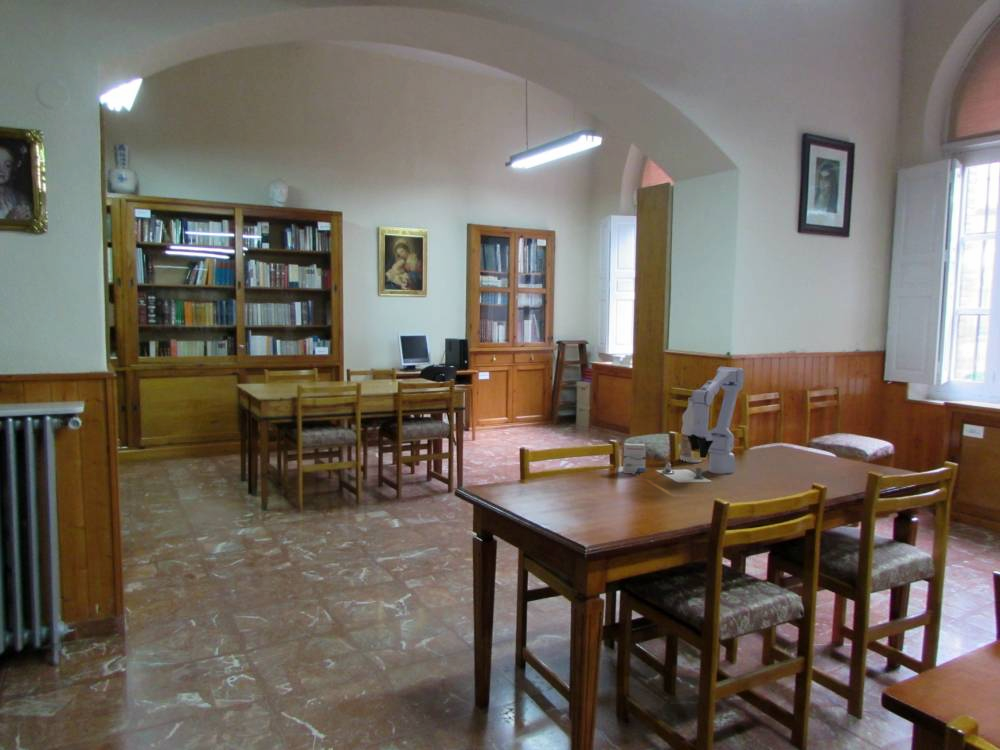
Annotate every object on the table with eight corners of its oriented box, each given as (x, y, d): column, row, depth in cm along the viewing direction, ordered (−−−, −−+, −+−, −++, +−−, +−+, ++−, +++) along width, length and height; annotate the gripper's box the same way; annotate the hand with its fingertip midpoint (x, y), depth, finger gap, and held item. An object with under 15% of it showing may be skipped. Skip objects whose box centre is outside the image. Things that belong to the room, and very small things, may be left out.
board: (687, 471, 273) (687, 459, 273) (712, 483, 254) (712, 471, 253) (655, 472, 270) (656, 460, 270) (678, 485, 251) (678, 472, 250)
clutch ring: (702, 456, 260) (702, 449, 260) (709, 459, 255) (709, 451, 255) (688, 457, 259) (689, 449, 259) (695, 459, 254) (696, 452, 254)
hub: (670, 471, 269) (671, 460, 268) (676, 474, 264) (676, 463, 264) (659, 471, 268) (660, 460, 267) (665, 474, 263) (665, 463, 263)
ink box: (643, 471, 272) (644, 443, 271) (645, 474, 267) (646, 445, 266) (622, 471, 272) (623, 442, 271) (623, 473, 267) (624, 444, 266)
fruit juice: (677, 458, 300) (680, 396, 297) (698, 458, 300) (701, 397, 297) (682, 462, 291) (685, 399, 288) (704, 463, 290) (707, 399, 288)
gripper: (682, 418, 262) (680, 452, 263) (700, 424, 248) (698, 460, 249) (698, 418, 264) (697, 451, 265) (717, 423, 250) (716, 459, 251)
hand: (699, 455), depth 257 cm, fingers closed on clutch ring, 6 cm apart
